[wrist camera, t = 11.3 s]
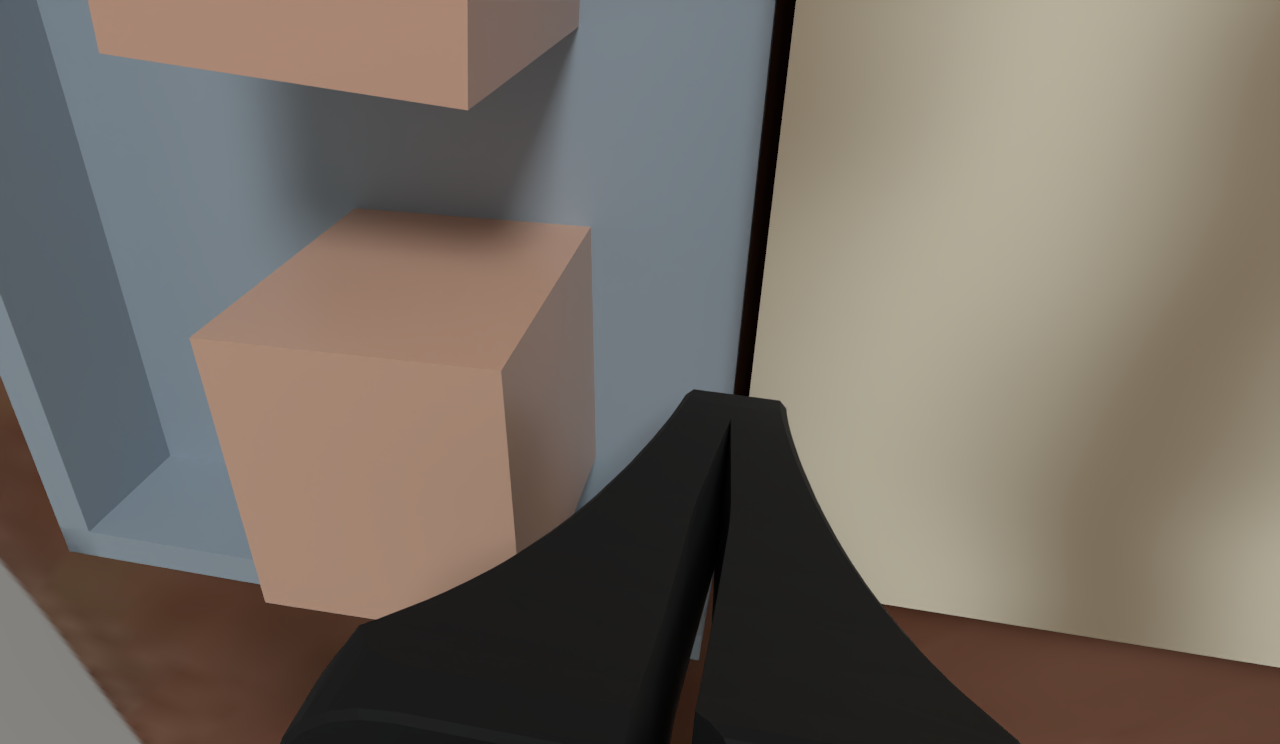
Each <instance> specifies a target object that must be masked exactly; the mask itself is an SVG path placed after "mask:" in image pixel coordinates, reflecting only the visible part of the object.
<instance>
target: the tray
mask: <svg viewBox="0 0 1280 744" xmlns="http://www.w3.org/2000/svg"><path fill="white" fill-rule="evenodd" d="M776 7H777V0H580V9H579V26H578V27H577V28H576V29H575V30H573V31H572V32H571V33H569V34H568V35H567V36H566V37H564V38H563V39H562V40H560V41H559V42H558V43H556V44H555V45H554V46H552V47H551V48H550V49H548V50H547V51H546V52H544V53H543V54H542V55H540V56H539V57H538V58H537V59H535V60H534V61H533V62H531V63H530V64H529V65H527V66H526V67H525V68H523V69H522V70H521V71H519V72H518V73H517V74H515V75H514V76H513V77H511V78H510V79H509V80H507V81H506V82H505V83H504V84H502V85H501V86H500V87H498V88H497V89H496V90H494V91H493V92H492V93H490V94H489V95H488V96H486V97H485V98H484V99H482V100H481V101H480V102H478V103H477V104H476V105H475V106H473V107H472V108H471V109H469V110H462V109H456V108H449V107H443V106H436V105H430V104H423V103H417V102H410V101H404V100H398V99H391V98H385V97H378V96H372V95H365V94H359V93H352V92H346V91H339V90H333V89H326V88H320V87H313V86H307V85H301V84H294V83H288V82H281V81H275V80H268V79H262V78H255V77H249V76H242V75H236V74H229V73H223V72H216V71H210V70H204V69H197V68H191V67H184V66H178V65H171V64H165V63H158V62H152V61H145V60H139V59H132V58H126V57H120V56H113V55H107V54H100V53H99V50H98V46H97V41H96V36H95V32H94V27H93V22H92V18H91V13H90V8H89V4H88V0H0V376H1V378H2V381H3V383H4V386H5V388H6V391H7V393H8V396H9V398H10V401H11V404H12V406H13V409H14V411H15V414H16V416H17V419H18V421H19V424H20V426H21V429H22V432H23V434H24V437H25V439H26V442H27V444H28V447H29V449H30V452H31V454H32V457H33V459H34V462H35V465H36V467H37V470H38V472H39V475H40V477H41V480H42V482H43V485H44V487H45V490H46V493H47V495H48V498H49V500H50V503H51V505H52V508H53V510H54V513H55V515H56V518H57V520H58V523H59V526H60V528H61V531H62V533H63V536H64V538H65V541H66V543H67V546H68V548H69V551H71V552H77V553H83V554H89V555H94V556H100V557H106V558H112V559H117V560H123V561H129V562H135V563H141V564H146V565H152V566H158V567H164V568H169V569H175V570H181V571H187V572H192V573H198V574H204V575H210V576H215V577H221V578H227V579H233V580H238V581H244V582H250V583H256V584H260V582H259V578H258V575H257V571H256V568H255V564H254V561H253V557H252V554H251V550H250V547H249V543H248V540H247V537H246V533H245V530H244V526H243V523H242V519H241V516H240V512H239V509H238V505H237V502H236V498H235V495H234V491H233V488H232V484H231V481H230V477H229V474H228V471H227V467H226V464H225V460H224V457H223V453H222V450H221V446H220V443H219V439H218V436H217V432H216V429H215V425H214V422H213V418H212V415H211V411H210V408H209V404H208V401H207V398H206V394H205V391H204V387H203V384H202V380H201V377H200V373H199V370H198V366H197V363H196V359H195V356H194V352H193V349H192V345H191V342H190V337H191V336H192V335H193V334H195V333H196V332H197V331H199V330H200V329H201V328H202V327H204V326H205V325H206V324H208V323H209V322H210V321H211V320H213V319H214V318H215V317H216V316H218V315H219V314H220V313H222V312H223V311H224V310H225V309H227V308H228V307H229V306H231V305H232V304H233V303H234V302H236V301H237V300H238V299H239V298H241V297H242V296H243V295H245V294H246V293H247V292H248V291H250V290H251V289H252V288H253V287H255V286H256V285H257V284H259V283H260V282H261V281H262V280H264V279H265V278H266V277H268V276H269V275H270V274H271V273H273V272H274V271H275V270H276V269H278V268H279V267H280V266H282V265H283V264H284V263H285V262H287V261H288V260H289V259H291V258H292V257H293V256H294V255H296V254H297V253H298V252H299V251H301V250H302V249H303V248H305V247H306V246H307V245H308V244H310V243H311V242H312V241H314V240H315V239H316V238H317V237H319V236H320V235H321V234H322V233H324V232H325V231H326V230H328V229H329V228H330V227H331V226H333V225H334V224H335V223H337V222H338V221H339V220H340V219H342V218H343V217H344V216H345V215H347V214H348V213H349V212H351V211H352V210H353V209H354V208H358V209H371V210H384V211H396V212H409V213H422V214H434V215H447V216H460V217H472V218H485V219H498V220H510V221H523V222H536V223H548V224H561V225H574V226H586V227H591V256H592V300H593V345H594V389H595V433H596V458H595V460H594V463H593V466H592V468H591V471H590V473H589V476H588V479H587V481H586V484H585V486H584V489H583V491H582V494H581V497H580V499H579V502H578V504H577V507H576V510H575V512H577V511H578V510H579V509H580V508H582V507H583V506H584V505H585V504H586V503H588V502H589V501H590V500H591V499H592V498H593V497H595V496H596V495H597V494H598V493H599V492H600V491H601V490H602V489H603V488H604V487H605V486H606V485H607V484H608V483H610V482H611V481H612V480H613V479H614V478H615V477H616V476H617V475H618V474H619V473H620V472H621V471H622V470H623V469H624V468H625V467H626V466H627V465H628V464H629V463H630V462H631V461H632V460H633V459H634V458H635V457H636V456H637V455H638V454H639V453H640V451H641V450H642V449H643V448H644V447H645V446H646V445H647V444H648V443H649V442H650V441H651V439H652V438H653V437H654V436H655V435H656V434H657V432H658V431H659V430H660V429H661V428H662V426H663V425H664V424H665V423H666V422H667V420H668V419H669V418H670V416H671V415H672V414H673V412H674V411H675V410H676V408H677V407H678V405H679V404H680V403H681V401H682V399H683V398H684V396H685V395H686V394H687V393H689V392H690V391H692V390H693V389H696V390H703V391H711V392H719V393H726V394H734V395H735V386H736V376H737V367H738V358H739V349H740V340H741V330H742V321H743V312H744V303H745V293H746V284H747V275H748V266H749V257H750V247H751V238H752V229H753V220H754V210H755V201H756V192H757V183H758V174H759V164H760V155H761V146H762V137H763V127H764V118H765V109H766V100H767V90H768V81H769V72H770V63H771V54H772V44H773V35H774V26H775V17H776ZM575 512H574V513H575ZM712 578H713V576H712ZM711 584H712V580H711V583H710V587H709V591H708V594H707V598H706V602H705V605H704V609H703V613H702V617H701V620H700V624H699V627H698V631H697V635H696V638H695V642H694V646H693V649H692V653H691V657H690V659H694V660H699V656H700V650H701V644H702V638H703V632H704V626H705V620H706V614H707V608H708V602H709V596H710V590H711Z"/></svg>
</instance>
